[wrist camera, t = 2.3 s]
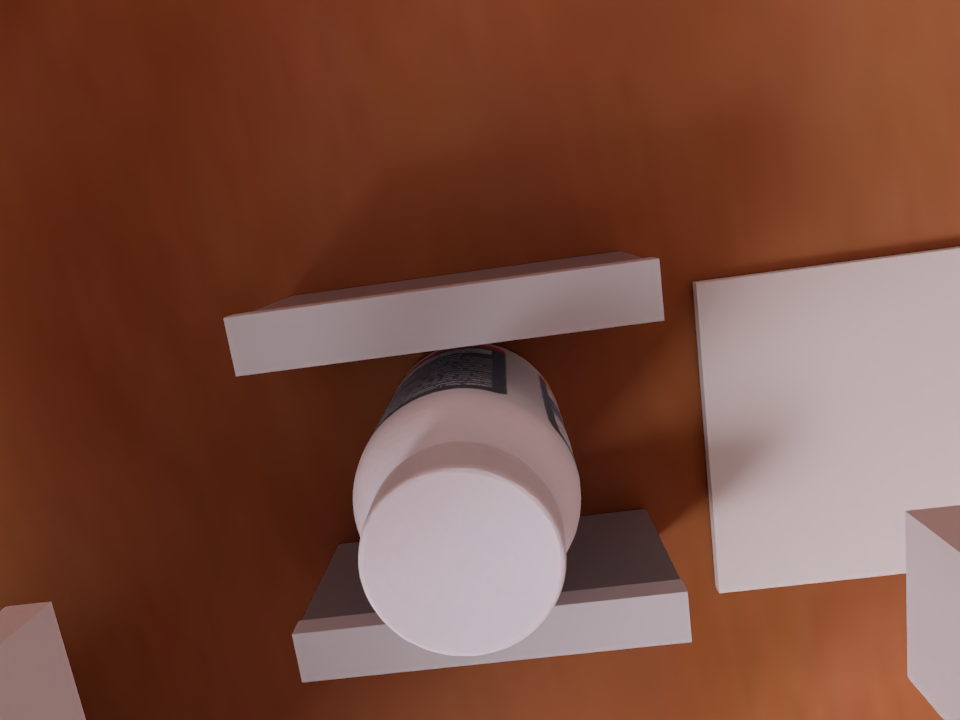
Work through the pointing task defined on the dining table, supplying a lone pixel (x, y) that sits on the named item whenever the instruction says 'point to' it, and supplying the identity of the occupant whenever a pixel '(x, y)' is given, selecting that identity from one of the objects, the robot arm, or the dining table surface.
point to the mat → (828, 414)
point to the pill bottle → (467, 503)
